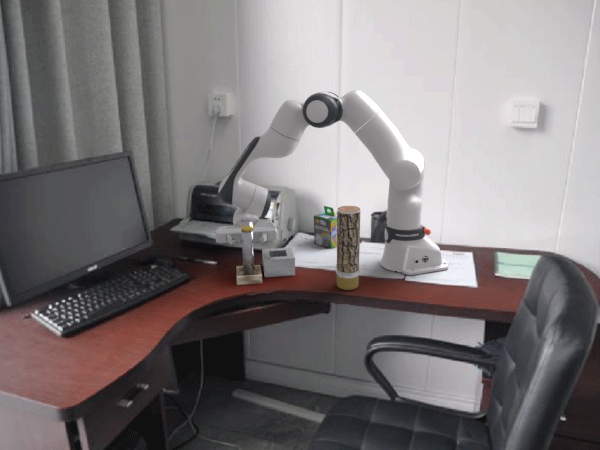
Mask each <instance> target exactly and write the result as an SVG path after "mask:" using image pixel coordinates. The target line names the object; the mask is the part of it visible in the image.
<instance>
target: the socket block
mask: <svg viewBox="0 0 600 450" xmlns="http://www.w3.org/2000/svg"><path fill="white" fill-rule="evenodd" d="M261 253H262V269H263V275H264V278H275V277H290V276H291V277H292V276H296V258H295V254H294V251H293V248H292V247H278V248H262V249H261Z"/></svg>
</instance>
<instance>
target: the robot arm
mask: <svg viewBox="0 0 600 450" xmlns="http://www.w3.org/2000/svg"><path fill="white" fill-rule="evenodd" d="M275 113H276V114H275V116H274V117H273V119H272V120H271V123H270V125H269V127H268V129H267V130H266V132H264V133H263V134H262V135H260V136H255V137H254V138H253V139H251V141H250V142H249V144H248V145H247V146H246V148H245V149H244V150H243V152H242V153H241V154H240V156H239V158H238V160H237V161H236V162H235V164H234V165H233V166H232V168H231V170H229V171H230V172H229V173H228V174H227V175H226V176H225V177H224V178H223V180H222V181H221V182H220V184H219V187H218V191H217V194H218V197H219V199H220V200H221V201H222V203H224V204H227V205H230V206H234V207H237V209H235V211H234V214H233V217H232V223H233V224H232V225H225V226H219V227H217V229H215V230H214V233H215V242H216V243H217V244H229V245H230V246H235V245H236V243H242V232H241V221H243V220H252V221H253V242H259V244H265V242H268V241H276V240H278V239H279V232H278V227H277V225H276V224H275V222H273V221H272V218H270V217H267V215H268V213H269V211H270V208H271V206H272V195H271V192H270V190H269V188H265V187H263V186H261V185H258V184H256V183H253V182H250V181H248V180H245V179H243V178H242V177H243V176H244V174H245V173H246V171H247V169H248V168H249V167H250V165H251V163H252V162H254V161H255V160H258V159H264V158H266V159H283V158H286V157H288V156H290V155H292V154H293V153H294V151H295V150H296V149H297V147H298V145H299V143H300V142H301V140H302V137H303V135H304V133H305V131H306V129H307V128H308V126H310V127H312V128H316V129H323V128H327V127H330V126H332V125H334V124H335V123H337V122H343V123H344V124H346V125H347V126H348V128H349V129H351V131H352V133H354V135H355V136H356V137H357V138H358V140H359V141H361V143H362V144H363V146H365V147H366V149H367V150H368V152H369V153H370V154H371V155H372V158H373V159H374V160H375V162H376V164H378V166H379V167H380V169H381V170H382V172H383V174H384V176H386V177H387V179H388V180H389V184H388V195H387V197H388V198H387V213H386V214H387V215H386V223H385V226H384V227H385V229H384V249H383V252H382V256H381V259H380V262H379V263H380V264H379V265H380V266H381V267H382V268H384V269H386V270H389V271H392V272H395V271H397V272H396V273H401V272H402V273H401V274H403V275H406V276H407V275H408V276H414V275H420V274H426V273H434V272H439V271H446V270H448V268H449V264H448V262H447V260H446V259H445V258H444V257H443V256H442V252H441V249H440V247H439V246H438V244H436V242H434V241H433V240H432V239H430V238H429V237H428V236H430V234H431V233H432V230H431V229H430V228H428V227H426V226H424V225H422V224H421V223H422V222H421V220H422V210H423V209H422V208H423V191H424V180H425V179H424V178H425V159H424V157H423V154H422V153H421V152H420V151H419V150H417V149H415V148H412V147H410V146H409V145H408V143H407V142H406V141H405V139H404V137H403V136H402V134H401V133H400V131H399V129H398V128H397V127H396V126H395V125H394V124H393V122H392V121H391V120H390V119H389V118H388V116H387V115H386V114H385V113H384V112H383V110H382V109H381V108H380V107H379V105H377V103H376V102H375V101H374V100H373V99H372V98H370V96H368V95H367V94H366V93H364V92H363V91H362V90H360V89H353V90H350V91H348V92H347V93H345V94H344V95H342V96H338V94H336V93H334V92H331V91H318V92H316V93H313V94H311V95H309V96H308V97H307V98H306V100H305V101H304V102H302V101H300V100H297V99H287V100H286V101H284V102H283V103H282V104H281V106H280V108H279V109H278V110H277V112H275Z"/></svg>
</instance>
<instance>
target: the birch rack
mask: <svg viewBox="0 0 600 450" xmlns="http://www.w3.org/2000/svg"><path fill="white" fill-rule="evenodd" d="M254 268H255V275H245V276H244V273H243V265H237V266H236V267H235V269H236V270H235V271H236V272H235V273H236V285H237V286H240V285H242V286H244V285H257V284H263V273H262V266H261V264H254Z"/></svg>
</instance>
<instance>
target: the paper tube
mask: <svg viewBox="0 0 600 450" xmlns="http://www.w3.org/2000/svg"><path fill="white" fill-rule="evenodd" d="M336 212H337V247H336V286H337V288H339V289H340V290H343V291H344V290H345V291H351V290H352V291H353V290H355V289H357V288H358V287H359V282H360V281H359V279H360V278H359V277H360V248H361V247H360V244H361V243H360V242H361V240H360V239H361V238H360V237H361V208H360V207H358V206H355V205H340V206H338V207H337V210H336Z"/></svg>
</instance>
